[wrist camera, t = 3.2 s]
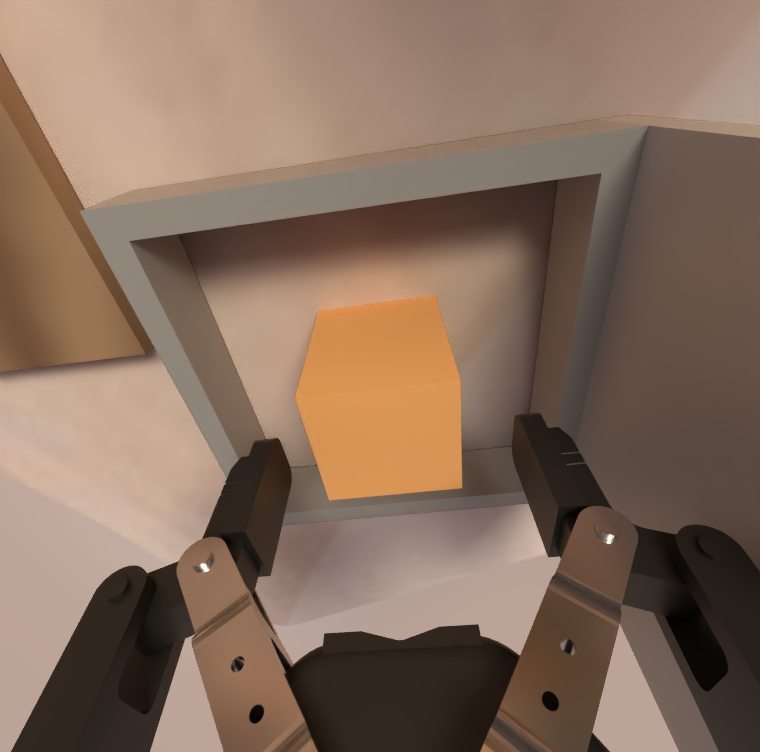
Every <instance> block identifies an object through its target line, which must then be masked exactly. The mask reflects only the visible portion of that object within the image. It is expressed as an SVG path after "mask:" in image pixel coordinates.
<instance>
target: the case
mask: <svg viewBox="0 0 760 752" xmlns="http://www.w3.org/2000/svg"><path fill="white" fill-rule="evenodd" d="M557 179H558V184H557V192H556V201H555V209H554V217H553V225H552V233H551V242H550V250H549V258H548V266H547V274H546V282H545V291H544V299H543V307H542V315H541V323H540V332H539V340H538V348H537V356H536V364H535V373H534V381H533V389H532V397H531V405H530V414H531V413H540V414H541V415H542V417H543V419H544V421H545V423H546V425H547V427H548V428H553V427H559V428H561V429H562V430H563V431H564V432H565V433H567V434H568V435H569V436H570V437H572V439H573V441H574V442H575V444H576V446H577V448H578V450H579V453H581V455H582V457H583V458H584V460H585V463H586V464H587V465H588V467H589V469H590V471H591V472H592V474H593V476H594V478H595V480H596V481H597V483H598V485H599V487H600V488H601V490H602V492H603V494H604V495H605V497H606V499H607V501H608V502H609V504H610V506H611V507H612V508H613V509H614V510H616V511H618V512H620V513H621V514H623V515H624V516H626V517H627V518H628V519H629V520H630V521H631V522H632V524H635V525H637V526H640V527H643V528H647V529H652V530H657V531H662V532H667V533H672V534H677V533H678V531H679V530H680V529H681V528H683V527H685V526H687V525H694V524H696V525H705V526H709V527H712V528H715V529H717V530H719V531H721V532H723V533H725V534H727V535H728V536H730V537H731V538H732V539H734V540H735V541H736V542H737V543H738V544H739V545H740V546H741V547H742V548H743V549H744V551H745V552H746V553H747V555H748V556H749V557H750V559H751V560H752V561H753V563H754V564H755V566H756V567H757V568H758V570H759V571H760V125H751V124H738V123H726V122H713V121H700V120H687V119H675V118H662V117H649V116H637V115H624V116H617V117H610V118H604V119H597V120H591V121H584V122H578V123H571V124H565V125H558V126H552V127H545V128H539V129H532V130H526V131H519V132H513V133H506V134H499V135H493V136H486V137H480V138H473V139H467V140H460V141H454V142H447V143H441V144H434V145H428V146H421V147H415V148H408V149H402V150H395V151H389V152H382V153H375V154H369V155H362V156H356V157H349V158H343V159H336V160H330V161H323V162H317V163H310V164H304V165H297V166H291V167H284V168H278V169H271V170H264V171H258V172H251V173H245V174H238V175H232V176H225V177H219V178H212V179H206V180H199V181H193V182H186V183H180V184H173V185H167V186H160V187H153V188H147V189H140V190H134V191H130V192H127V193H125V194H122V195H120V196H117V197H115V198H112V199H110V200H107V201H104V202H102V203H99V204H97V205H94V206H92V207H89V208H87V209H84V210H82V211H79V212H80V213H81V215H82V217H83V219H84V221H85V222H86V224H87V226H88V228H89V230H90V232H91V233H92V235H93V237H94V239H95V241H96V242H97V244H98V246H99V248H100V250H101V251H102V253H103V255H104V257H105V259H106V261H107V262H108V264H109V266H110V268H111V270H112V271H113V273H114V275H115V277H116V279H117V280H118V282H119V284H120V286H121V288H122V289H123V291H124V293H125V295H126V297H127V299H128V300H129V302H130V304H131V306H132V308H133V309H134V311H135V313H136V315H137V317H138V318H139V320H140V322H141V324H142V326H143V327H144V329H145V331H146V333H147V335H148V337H149V338H150V340H151V342H152V344H153V346H154V347H155V349H156V351H157V353H158V355H159V356H160V358H161V360H162V362H163V364H164V365H165V367H166V369H167V371H168V373H169V375H170V376H171V378H172V380H173V382H174V384H175V385H176V387H177V389H178V391H179V393H180V394H181V396H182V398H183V400H184V402H185V403H186V405H187V407H188V409H189V411H190V413H191V414H192V416H193V418H194V420H195V422H196V423H197V425H198V427H199V429H200V431H201V432H202V434H203V436H204V438H205V440H206V442H207V443H208V445H209V447H210V449H211V451H212V452H213V454H214V456H215V458H216V460H217V461H218V463H219V465H220V467H221V469H222V470H223V472H224V474H225V476H226V478H227V477H228V475H229V472H230V470H231V468H232V467H233V466H234V465H235V464H236V462H237V461H238V460H239V459H240V458H241V457H245V456H249V454H250V451H251V448H252V446H253V443H254V442H255V441H256V440H264V439H265V436H264V434H263V432H262V429H261V427H260V425H259V422H258V420H257V418H256V415H255V413H254V410H253V408H252V406H251V403H250V401H249V399H248V396H247V394H246V392H245V389H244V387H243V385H242V382H241V380H240V378H239V375H238V373H237V371H236V368H235V366H234V363H233V361H232V359H231V356H230V354H229V352H228V349H227V347H226V345H225V342H224V340H223V338H222V335H221V333H220V331H219V328H218V326H217V323H216V321H215V319H214V316H213V314H212V312H211V309H210V307H209V305H208V302H207V300H206V298H205V295H204V293H203V291H202V288H201V286H200V284H199V281H198V279H197V276H196V274H195V272H194V269H193V267H192V265H191V262H190V260H189V258H188V255H187V253H186V251H185V248H184V246H183V244H182V241H181V239H180V237H179V234H182V233H189V232H196V231H203V230H210V229H217V228H224V227H230V226H237V225H244V224H251V223H258V222H265V221H272V220H279V219H286V218H293V217H300V216H307V215H314V214H321V213H328V212H335V211H342V210H349V209H356V208H363V207H370V206H376V205H383V204H390V203H397V202H404V201H411V200H418V199H425V198H432V197H439V196H446V195H453V194H460V193H467V192H474V191H481V190H488V189H495V188H502V187H509V186H516V185H522V184H529V183H536V182H543V181H550V180H557ZM291 473H292V484H291V489H290V493H289V497H288V502H287V506H286V510H285V515H284V519H283V523H282V525H290V524H302V523H313V522H324V521H336V520H347V519H358V518H370V517H381V516H392V515H404V514H415V513H426V512H438V511H449V510H461V509H472V508H483V507H495V506H506V505H517V504H529V503H528V501H527V498H526V495H525V492H524V490H523V487H522V484H521V482H520V479H519V476H518V473H517V471H516V468H515V465H514V461H513V456H512V446H510V447H500V448H490V449H480V450H470V451H462V488H459V489H448V490H437V491H426V492H415V493H404V494H393V495H383V496H372V497H361V498H350V499H339V500H329V498H328V495H327V492H326V489H325V486H324V483H323V480H322V477H321V475H320V472H319V469H318V466H307V467H297V468H291ZM620 625H621V627H622V629H623V631H624V634H625V636H626V638H627V640H628V642H629V644H630V647H631V649H632V651H633V653H634V655H635V657H636V659H637V661H638V664H639V666H640V668H641V670H642V673H643V675H644V677H645V679H646V681H647V683H648V685H649V688H650V690H651V692H652V694H653V696H654V698H655V701H656V703H657V705H658V707H659V709H660V711H661V714H662V716H663V718H664V720H665V722H666V724H667V727H668V729H669V731H670V733H671V735H672V737H673V740H674V741H675V744H676V746H677V748H678V750H679V752H719V751H718V749H717V747H716V745H715V743H714V740H713V738H712V736H711V734H710V732H709V730H708V728H707V726H706V723H705V721H704V719H703V717H702V715H701V713H700V711H699V709H698V706H697V704H696V702H695V700H694V698H693V696H692V694H691V692H690V689H689V687H688V685H687V683H686V681H685V679H684V677H683V675H682V672H681V670H680V668H679V666H678V664H677V662H676V660H675V658H674V655H673V653H672V651H671V649H670V647H669V645H668V643H667V641H666V638H665V636H664V634H663V632H662V630H661V628H660V626H659V624H658V622H657V619H656V617H655V615H654V613H653V612H649V611H645V610H641V609H638V608H634V607H630V606H626V605H622V606H621V620H620Z"/></svg>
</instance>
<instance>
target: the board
mask: <svg viewBox="0 0 760 752" xmlns="http://www.w3.org/2000/svg"><path fill="white" fill-rule="evenodd" d="M82 210H84V208H83V206H82V204H81V203H80V201H79V199H78V197H77V195H76V193H75V192H74V190H73V188H72V186H71V184H70V182H69V180H68V179H67V177H66V175H65V173H64V171H63V169H62V168H61V166H60V164H59V162H58V160H57V158H56V157H55V155H54V153H53V151H52V149H51V147H50V146H49V144H48V142H47V140H46V138H45V136H44V135H43V133H42V131H41V129H40V127H39V125H38V124H37V122H36V120H35V118H34V116H33V114H32V112H31V111H30V109H29V107H28V105H27V103H26V101H25V100H24V98H23V96H22V94H21V92H20V90H19V89H18V87H17V85H16V83H15V81H14V79H13V78H12V76H11V74H10V72H9V70H8V68H7V67H6V65H5V63H4V61H3V59H2V57H1V55H0V372H4V371H12V370H20V369H28V368H36V367H45V366H53V365H61V364H69V363H77V362H86V361H94V360H102V359H110V358H118V357H126V356H135V355H143V354H146V353H147V352H148V351H149V350H150V349H151V348H152V347H153V344H152V342H151V340H150V338H149V337H148V335H147V333H146V331H145V329H144V327H143V326H142V324H141V322H140V320H139V318H138V317H137V315H136V313H135V311H134V309H133V308H132V306H131V304H130V302H129V300H128V299H127V297H126V295H125V293H124V291H123V289H122V288H121V286H120V284H119V282H118V280H117V279H116V277H115V275H114V273H113V271H112V270H111V268H110V266H109V264H108V262H107V261H106V259H105V257H104V255H103V253H102V251H101V250H100V248H99V246H98V244H97V242H96V241H95V239H94V237H93V235H92V233H91V232H90V230H89V228H88V226H87V224H86V222H85V221H84V219H83V217H82V215H81V213H80V212H79V211H82Z"/></svg>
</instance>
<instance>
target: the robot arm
mask: <svg viewBox="0 0 760 752" xmlns="http://www.w3.org/2000/svg"><path fill="white" fill-rule="evenodd" d="M512 456H513V461H514V465H515V468H516V471H517V473H518V476H519V479H520V482H521V484H522V487H523V490H524V492H525V495H526V498H527V501H528V503H529V506H530V509H531V511H532V514H533V517H534V520H535V522H536V525H537V528H538V531H539V533H540V536H541V539H542V541H543V544H544V547H545V550H546V552H547V555H548V557H558V556H560V558H561V560H560V563H559V565H558V568H557V570H556V573H555V575H554V576H553V577H552V579H551V581H550V583H549V585H548V588H547V590H546V593H545V595H544V598H543V600H542V603H541V605H540V608H539V610H538V613H537V615H536V618H535V620H534V623H533V625H532V628H531V630H530V633H529V635H528V638H527V640H526V643H525V645H524V648H523V650H522V653H521V655H518V654H517V653H516V652H514V651H513V650H511V649H510V648H508V647H507V646H505V645H503V644H501V643H499V642H497V641H495V640H492V639H490V638H486V637H482V636H480V631H479V626H478V625H462V626H445V627H438V628H435V629H432V630H429V631H427V632H424V633H421V634H419V635H416V636H413V637H410V638H408V639H405V640H394V639H390V638H386V637H382V636H378V635H374V634H370V633H366V632H361V631H360V632H344V633H326V634H324V642H323V646H321V647H318V648H316V649H315V650H313V651H311V652H309V653H308V654H306V655H305V656H303V657H302V658H301V659H299V660H298V661H297V662H296V663H295V664H294V665H293V663H292V661H291V659H290V657H289V655H288V654H287V652H286V650H285V648H284V646H283V645H282V643H281V641H280V639H279V637H278V635H277V633H276V631H275V629H274V627H273V625H272V622H271V620H270V618H269V616H268V614H267V612H266V610H265V608H264V606H263V604H262V602H261V600H260V598H259V596H258V594H257V592H256V590H255V587H256V583H257V579H258V577H261V576H270V575H271V571H272V567H273V562H274V558H275V554H276V549H277V545H278V541H279V536H280V532H281V528H282V523H283V519H284V515H285V510H286V506H287V502H288V497H289V493H290V489H291V484H292V473H291V468H290V465H289V463H288V460H287V458H286V455H285V452H284V450H283V447H282V445H281V442H280V440H279V439H278V438H274V439H264V440H256V441H255V442H254V443H253V446H252V448H251V451H250V454H249V456H245V457H241V458H240V459H239V460H238V461H237V462H236V464H235V465H234V466H233V467H232V468H231V470H230V472H229V475H228V477H227V480H226V482H225V483H226V485H224V487H223V490H222V492H221V496H220V497H219V499H218V502H217V504H216V507H215V509H214V512H213V514H212V517H211V519H210V522H209V524H208V527H207V529H206V531H205V534H204V536H203V538H202V539H201V540H199V541H197V542H196V543H194V544H193V545H191V546H190V547H189V548H188V549H187V550H186V551H185V552H184V554H183V555H182V556H181V558H180V560H179V561H178V562H175V563H173V564H170V565H168V566H165V567H163V568H160V569H158V570H155V571H152V572H150V573H146V571H145V570H144V569H143V568H141V567H139V566H127V567H124V568H122V569H120V570H118V571H116V572H114V573H113V574H111V575H110V576H109V577H108V578H106V579H105V580H104V581H103V583H102V584H101V585H100V586H99V587H98V588H97V590H96V592H95V593H94V595H93V597H92V599H91V601H90V603H89V604H88V606H87V608H86V610H85V612H84V614H83V616H82V618H81V620H80V622H79V623H78V625H77V627H76V629H75V631H74V633H73V635H72V637H71V639H70V641H69V643H68V645H67V646H66V648H65V650H64V652H63V654H62V656H61V658H60V660H59V662H58V663H57V665H56V667H55V669H54V671H53V673H52V675H51V677H50V679H49V681H48V682H47V684H46V686H45V688H44V690H43V692H42V694H41V696H40V698H39V700H38V701H37V704H36V705H35V707H34V709H33V711H32V713H31V715H30V717H29V719H28V720H27V722H26V724H25V726H24V728H23V730H22V732H21V734H20V736H19V738H18V739H17V742H16V743H15V745H14V747H13V749H12V751H11V752H150V749H151V746H152V743H153V740H154V736H155V733H156V730H157V727H158V724H159V721H160V717H161V714H162V711H163V707H164V705H165V701H166V698H167V695H168V692H169V688H170V685H171V682H172V679H173V676H174V672H175V669H176V666H177V663H178V660H179V656H180V653H181V650H182V647H183V643H184V640H185V638H187V637H190V636H192V635H194V634H195V636H194V637H193V638H192V647H193V651H194V654H195V657H196V661H197V664H198V667H199V671H200V674H201V677H202V681H203V684H204V687H205V691H206V693H207V697H208V700H209V704H210V707H211V710H212V714H213V717H214V721H215V724H216V727H217V731H218V734H219V737H220V741H221V744H222V747H223V750H224V752H610V751H609V750H608V749H607V748H606V747H605V746H604V745H603V744H602V743H601V741H600V740H598V738H597V737H596V736H595V735H594V734H593V733H592V731H593V727H594V723H595V719H596V715H597V711H598V707H599V703H600V699H601V695H602V691H603V687H604V683H605V679H606V675H607V671H608V667H609V664H610V660H611V656H612V652H613V648H614V644H615V640H616V636H617V632H618V628H619V624H620V620H621V606H622V605H626V606H630V607H634V608H638V609H641V610H645V611H649V612H653V613H654V615H655V617H656V619H657V622H658V624H659V626H660V628H661V630H662V632H663V634H664V636H665V638H666V641H667V643H668V645H669V647H670V649H671V651H672V653H673V655H674V658H675V660H676V662H677V664H678V666H679V668H680V670H681V672H682V675H683V677H684V679H685V681H686V683H687V685H688V687H689V689H690V692H691V694H692V696H693V698H694V700H695V702H696V704H697V706H698V709H699V711H700V713H701V715H702V717H703V719H704V721H705V723H706V726H707V728H708V730H709V732H710V734H711V736H712V738H713V740H714V743H715V745H716V747H717V749H718V751H719V752H760V571H759V570H758V568H757V567H756V566H755V564H754V563H753V561H752V560H751V559H750V557H749V556H748V555H747V553H746V552H745V551H744V549H743V548H742V547H741V546H740V545H739V544H738V543H737V542H736V541H735V540H734V539H732V538H731V537H730V536H728V535H727V534H725V533H723V532H721V531H719V530H717V529H715V528H712V527H709V526H705V525H696V524H694V525H687V526H685V527H683V528H681V529H680V530H679V531H678V533H677V534H672V533H667V532H662V531H657V530H652V529H647V528H643V527H640V526H637V525H635V524H632V522H631V521H630V520H629V519H628V518H627V517H626V516H624V515H623V514H621V513H620V512H618V511H616V510H614V509H613V508H612V507H611V506H610V504H609V502H608V501H607V499H606V497H605V495H604V494H603V492H602V490H601V488H600V487H599V485H598V483H597V481H596V480H595V478H594V476H593V474H592V472H591V471H590V469H589V467H588V465H587V464H586V463H585V460H584V458H583V457H582V455H581V453H579V450H578V448H577V446H576V444H575V442H574V441H573V439H572V437H570V436H569V435H568V434H567V433H565V432H564V431H563V430H562V429H561V428H559V427H553V428H548V427H547V425H546V423H545V421H544V419H543V417H542V415H541V414H540V413H531V414H521V415H516V416H515V418H514V429H513V441H512Z"/></svg>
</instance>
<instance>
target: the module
mask: <svg viewBox="0 0 760 752" xmlns="http://www.w3.org/2000/svg"><path fill="white" fill-rule="evenodd" d="M295 400H296V403H297V406H298V409H299V412H300V415H301V418H302V421H303V424H304V427H305V430H306V433H307V436H308V439H309V442H310V445H311V448H312V451H313V454H314V457H315V460H316V463H317V466H318V469H319V472H320V475H321V477H322V480H323V483H324V486H325V489H326V492H327V495H328V498H329V500H339V499H350V498H361V497H372V496H383V495H393V494H404V493H415V492H426V491H437V490H448V489H459V488H462V445H461V383H460V377H459V374H458V370H457V367H456V363H455V360H454V357H453V353H452V350H451V347H450V343H449V340H448V337H447V333H446V330H445V327H444V323H443V320H442V317H441V313H440V310H439V306H438V303H437V300H436V296H431V297H423V298H415V299H407V300H399V301H392V302H384V303H376V304H368V305H360V306H352V307H344V308H337V309H329V310H321V311H318V314H317V318H316V321H315V325H314V329H313V333H312V337H311V340H310V344H309V348H308V352H307V355H306V359H305V363H304V367H303V370H302V374H301V378H300V382H299V385H298V389H297V393H296V397H295Z"/></svg>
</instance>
